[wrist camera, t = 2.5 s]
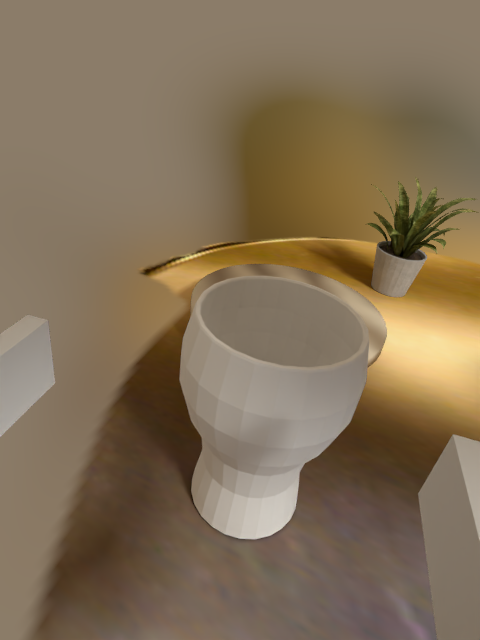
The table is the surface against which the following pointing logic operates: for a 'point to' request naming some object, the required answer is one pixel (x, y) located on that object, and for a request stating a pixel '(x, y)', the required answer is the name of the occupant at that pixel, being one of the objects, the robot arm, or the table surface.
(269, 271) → the turntable platter
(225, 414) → the cup
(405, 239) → the house plant
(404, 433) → the table surface
